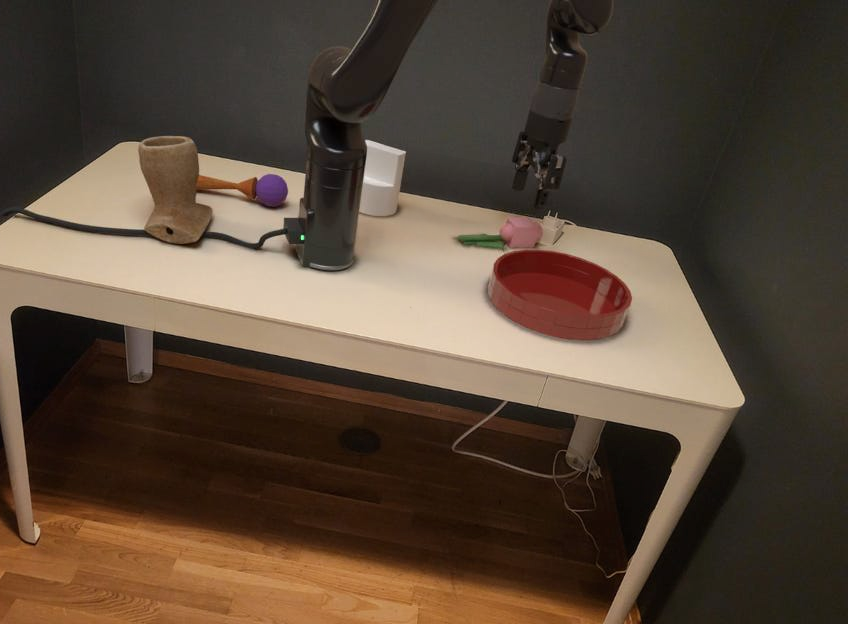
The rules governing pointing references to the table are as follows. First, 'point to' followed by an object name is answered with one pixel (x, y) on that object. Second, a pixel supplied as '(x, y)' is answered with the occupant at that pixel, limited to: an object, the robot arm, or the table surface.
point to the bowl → (559, 294)
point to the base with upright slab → (381, 179)
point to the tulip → (508, 235)
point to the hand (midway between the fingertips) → (527, 199)
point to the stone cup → (173, 188)
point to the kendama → (252, 188)
